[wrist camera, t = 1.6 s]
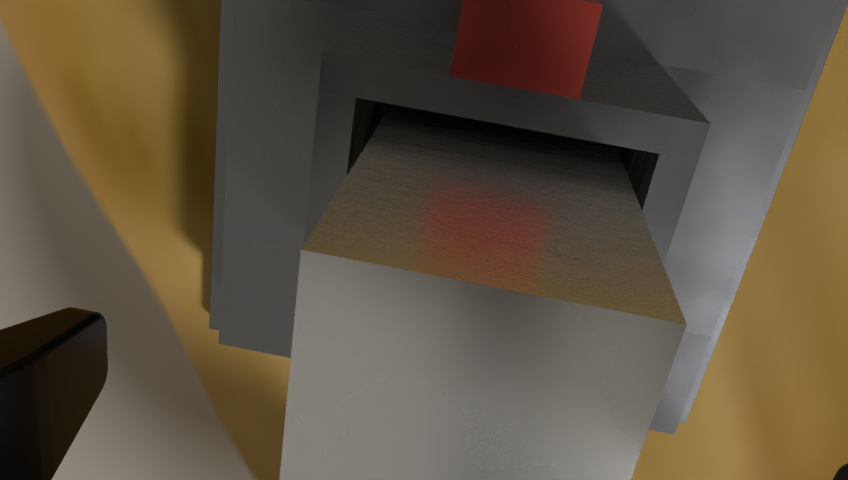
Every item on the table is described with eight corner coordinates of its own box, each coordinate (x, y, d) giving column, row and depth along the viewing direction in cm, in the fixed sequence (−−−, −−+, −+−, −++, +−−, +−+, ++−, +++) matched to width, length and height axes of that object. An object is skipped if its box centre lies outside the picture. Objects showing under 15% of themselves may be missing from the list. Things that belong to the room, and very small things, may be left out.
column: (554, 238, 19) (594, 602, 9) (395, 208, 19) (266, 534, 9) (596, 79, 17) (699, 317, 7) (420, 47, 18) (292, 239, 8)
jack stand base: (681, 412, 22) (749, 623, 15) (215, 319, 22) (94, 486, 16) (882, -114, 16) (1129, -124, 9) (237, -223, 16) (57, -303, 10)
